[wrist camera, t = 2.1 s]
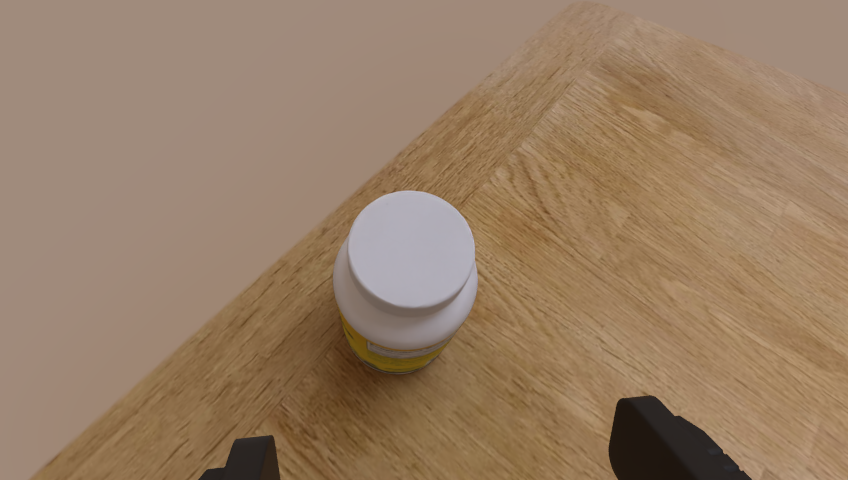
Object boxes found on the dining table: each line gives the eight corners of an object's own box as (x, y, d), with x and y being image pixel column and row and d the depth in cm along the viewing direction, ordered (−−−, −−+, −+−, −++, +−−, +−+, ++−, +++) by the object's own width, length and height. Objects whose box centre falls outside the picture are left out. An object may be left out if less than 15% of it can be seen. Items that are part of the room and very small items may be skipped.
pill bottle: (351, 268, 27) (338, 162, 17) (450, 278, 27) (496, 181, 17) (335, 372, 24) (310, 319, 14) (446, 381, 24) (497, 337, 15)
